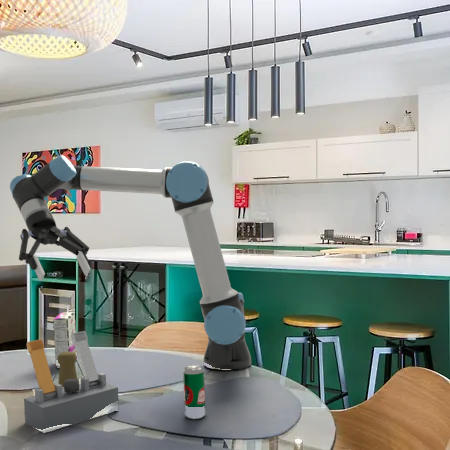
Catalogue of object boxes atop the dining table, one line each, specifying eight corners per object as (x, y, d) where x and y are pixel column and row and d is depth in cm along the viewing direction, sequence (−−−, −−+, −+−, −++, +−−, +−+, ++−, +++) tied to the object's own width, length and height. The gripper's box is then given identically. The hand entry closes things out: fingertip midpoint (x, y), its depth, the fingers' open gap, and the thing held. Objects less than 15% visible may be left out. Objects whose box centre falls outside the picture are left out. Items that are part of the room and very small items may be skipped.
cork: (73, 386, 170) (72, 348, 170) (83, 390, 165) (81, 352, 165) (53, 391, 166) (52, 352, 166) (63, 395, 162) (61, 356, 161)
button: (61, 390, 145) (61, 380, 145) (74, 387, 147) (74, 377, 147) (68, 393, 142) (68, 383, 142) (82, 390, 144) (81, 380, 144)
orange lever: (41, 400, 140) (26, 344, 145) (55, 396, 142) (40, 341, 147) (43, 398, 139) (28, 341, 144) (58, 395, 141) (42, 339, 146)
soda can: (203, 420, 139) (201, 370, 139) (182, 420, 140) (180, 370, 140) (207, 413, 144) (206, 364, 144) (187, 412, 145) (186, 364, 145)
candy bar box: (62, 360, 201) (60, 312, 200) (77, 359, 201) (75, 311, 200) (54, 369, 189) (52, 318, 189) (70, 368, 190) (68, 317, 189)
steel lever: (86, 388, 148) (70, 335, 153) (99, 385, 150) (82, 333, 155) (88, 386, 147) (72, 333, 152) (101, 383, 149) (85, 330, 154)
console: (25, 423, 142) (23, 386, 141) (98, 402, 155) (96, 369, 155) (43, 433, 134) (42, 395, 134) (118, 411, 148) (117, 376, 148)
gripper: (73, 225, 178) (101, 278, 168) (-9, 230, 162) (17, 289, 151) (81, 207, 174) (110, 261, 164) (-2, 210, 158) (24, 269, 147)
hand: (65, 274), depth 157 cm, fingers open, 12 cm apart
